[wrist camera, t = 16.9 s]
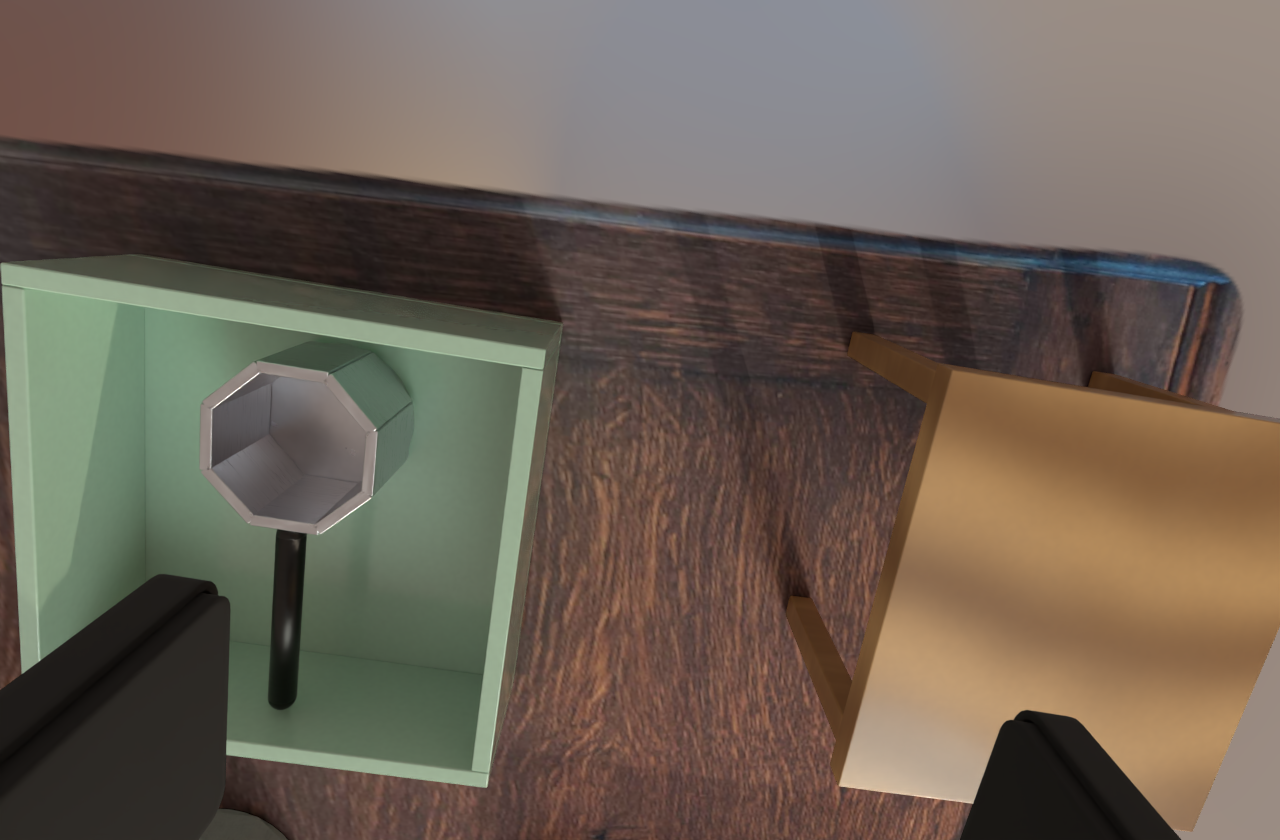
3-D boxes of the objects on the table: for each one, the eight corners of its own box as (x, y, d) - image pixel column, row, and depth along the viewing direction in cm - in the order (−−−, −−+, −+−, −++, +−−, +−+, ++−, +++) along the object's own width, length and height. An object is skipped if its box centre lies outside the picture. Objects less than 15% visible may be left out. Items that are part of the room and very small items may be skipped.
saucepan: (268, 331, 34) (200, 351, 29) (421, 355, 35) (382, 380, 29) (255, 639, 38) (193, 707, 33) (391, 658, 39) (353, 729, 33)
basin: (138, 253, 34) (-1, 262, 27) (563, 322, 35) (545, 349, 28) (140, 632, 39) (23, 730, 31) (513, 682, 40) (487, 788, 33)
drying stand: (846, 321, 35) (952, 369, 24) (1126, 367, 36) (1362, 436, 25) (775, 620, 39) (837, 786, 28) (1029, 656, 40) (1192, 832, 29)
